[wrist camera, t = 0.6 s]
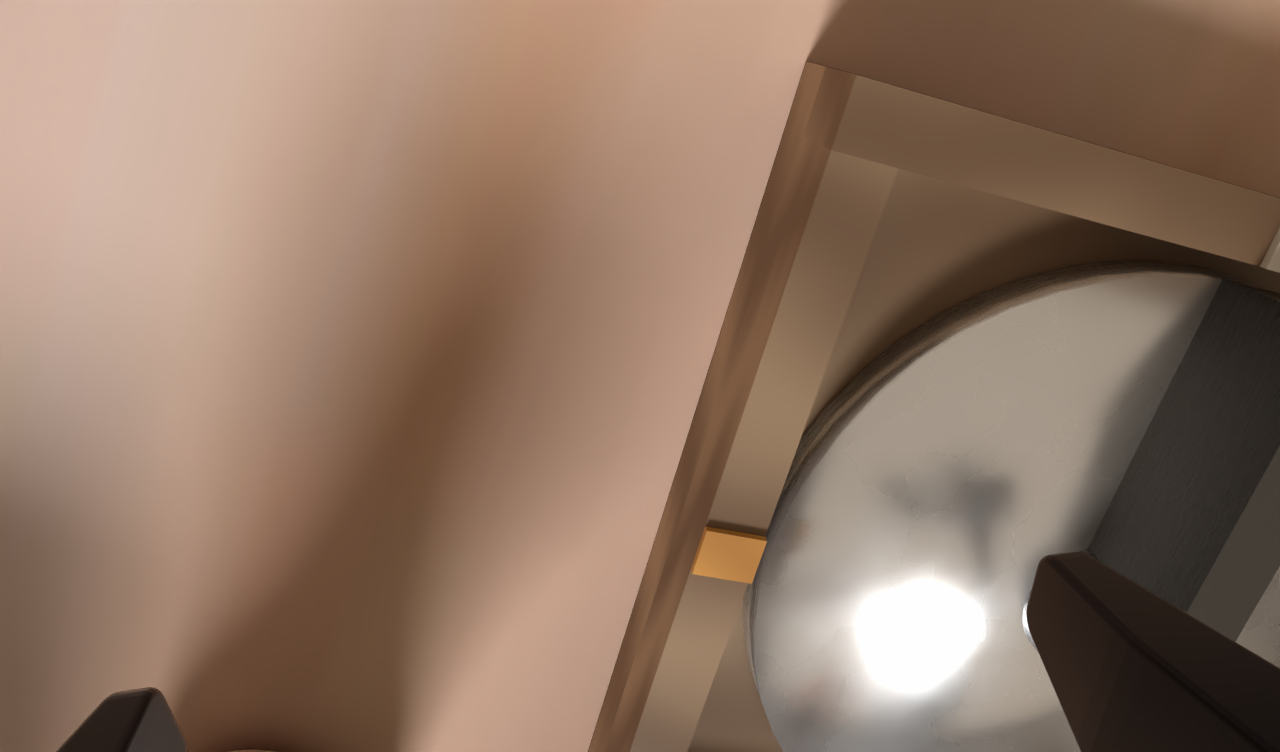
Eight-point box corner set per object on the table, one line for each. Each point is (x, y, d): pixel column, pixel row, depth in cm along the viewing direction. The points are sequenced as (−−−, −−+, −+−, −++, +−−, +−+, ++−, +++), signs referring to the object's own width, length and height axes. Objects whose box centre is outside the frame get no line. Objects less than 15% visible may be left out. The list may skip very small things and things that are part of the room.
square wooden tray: (1175, 853, 34) (1249, 950, 30) (576, 786, 29) (585, 892, 26) (1534, 273, 26) (1685, 316, 23) (806, 61, 22) (860, 75, 18)
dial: (1183, 844, 31) (1298, 991, 27) (663, 784, 28) (693, 945, 23) (1492, 344, 25) (1711, 424, 21) (879, 180, 21) (978, 233, 17)
